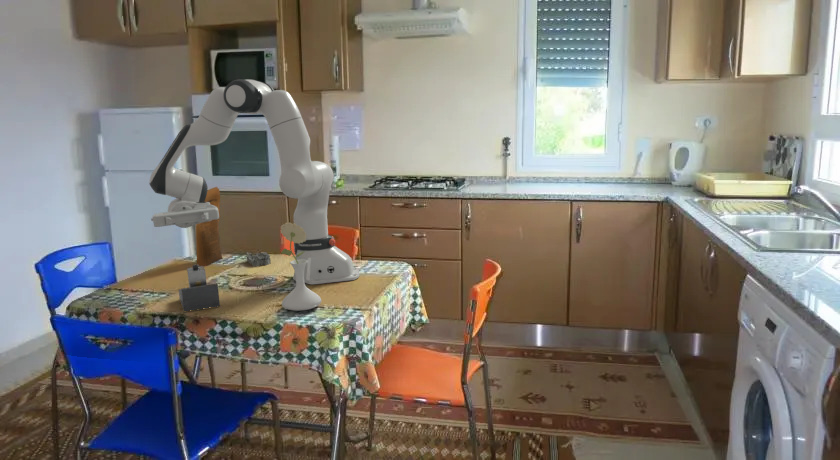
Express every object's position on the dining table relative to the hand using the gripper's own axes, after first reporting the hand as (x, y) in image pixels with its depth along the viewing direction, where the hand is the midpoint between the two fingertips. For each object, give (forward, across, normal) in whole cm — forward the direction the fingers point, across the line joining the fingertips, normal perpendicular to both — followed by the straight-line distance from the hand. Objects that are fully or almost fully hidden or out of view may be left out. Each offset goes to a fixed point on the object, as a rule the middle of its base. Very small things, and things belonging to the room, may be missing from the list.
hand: (188, 219), depth 199 cm
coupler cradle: (+14, -2, +24) cm, 27 cm away
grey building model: (-27, +25, +24) cm, 44 cm away
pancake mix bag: (-39, +10, +23) cm, 46 cm away
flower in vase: (+34, +24, +25) cm, 49 cm away
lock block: (+14, -1, +23) cm, 27 cm away
